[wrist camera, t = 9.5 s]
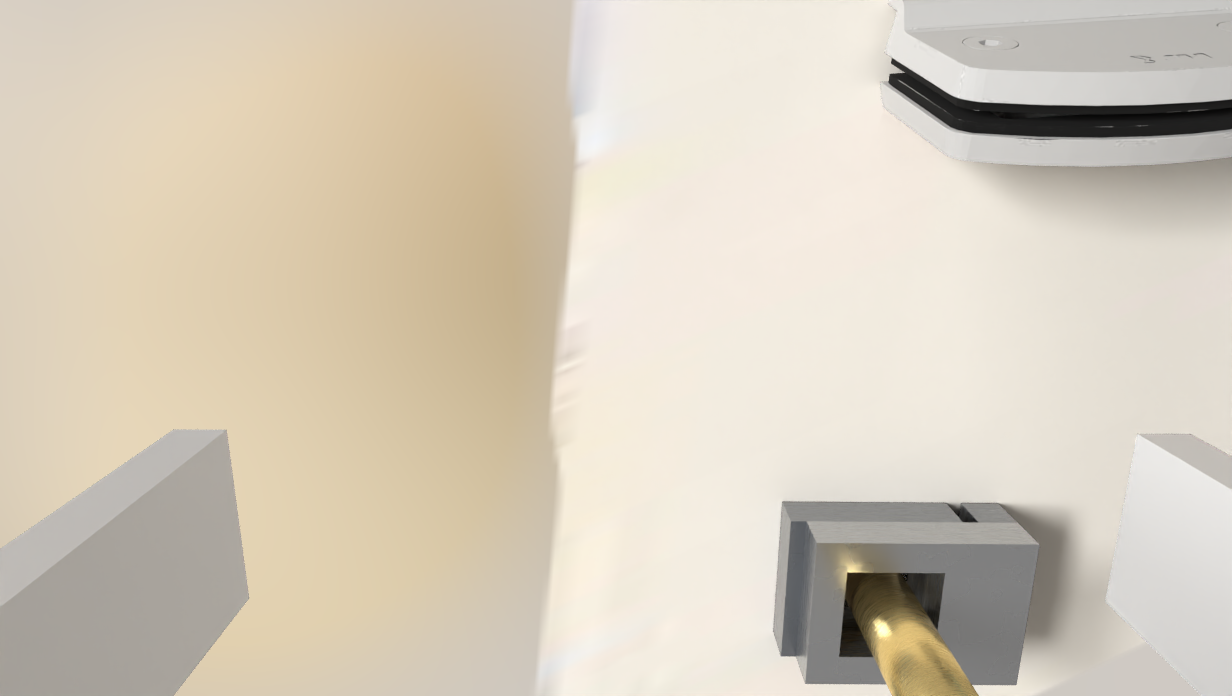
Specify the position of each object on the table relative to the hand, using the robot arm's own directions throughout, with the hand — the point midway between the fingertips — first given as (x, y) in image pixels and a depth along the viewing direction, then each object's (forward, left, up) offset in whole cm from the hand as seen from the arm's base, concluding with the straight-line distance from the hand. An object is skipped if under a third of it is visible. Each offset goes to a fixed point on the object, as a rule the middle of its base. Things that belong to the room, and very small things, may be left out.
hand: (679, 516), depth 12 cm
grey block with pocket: (-13, +18, -29) cm, 36 cm away
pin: (-13, +18, -29) cm, 36 cm away
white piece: (-20, -8, -29) cm, 36 cm away
